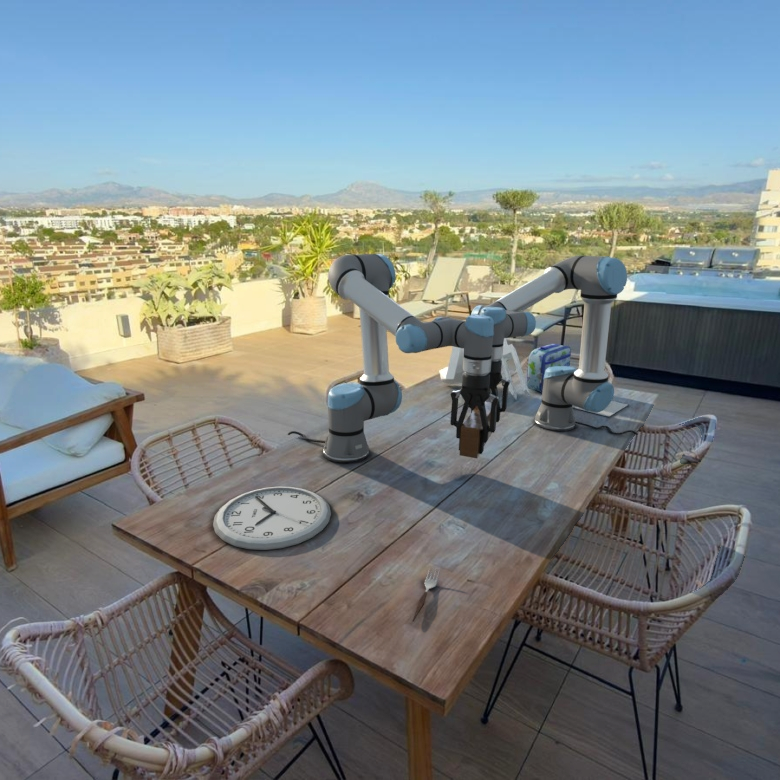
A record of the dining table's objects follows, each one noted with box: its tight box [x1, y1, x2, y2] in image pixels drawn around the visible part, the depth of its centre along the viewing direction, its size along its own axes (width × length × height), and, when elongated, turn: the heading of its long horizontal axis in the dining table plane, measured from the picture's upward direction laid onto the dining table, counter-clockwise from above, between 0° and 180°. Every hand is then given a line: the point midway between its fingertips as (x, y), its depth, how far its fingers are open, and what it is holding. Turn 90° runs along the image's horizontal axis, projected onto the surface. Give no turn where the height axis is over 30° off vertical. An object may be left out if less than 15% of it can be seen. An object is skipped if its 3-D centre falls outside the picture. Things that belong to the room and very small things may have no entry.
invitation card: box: [573, 400, 629, 418], centre depth 226 cm, size 21×1×15 cm
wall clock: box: [212, 486, 332, 551], centre depth 136 cm, size 30×2×30 cm
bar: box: [459, 400, 493, 459], centre depth 157 cm, size 24×5×9 cm, turn 158°
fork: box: [412, 565, 441, 623], centre depth 107 cm, size 3×16×2 cm, turn 160°
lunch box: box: [526, 343, 572, 394], centre depth 248 cm, size 26×11×21 cm, turn 135°
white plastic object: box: [438, 338, 531, 400], centre depth 245 cm, size 37×45×31 cm
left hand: (471, 450), depth 150 cm, fingers closed on bar, 5 cm apart
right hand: (484, 429), depth 166 cm, fingers closed on bar, 5 cm apart
